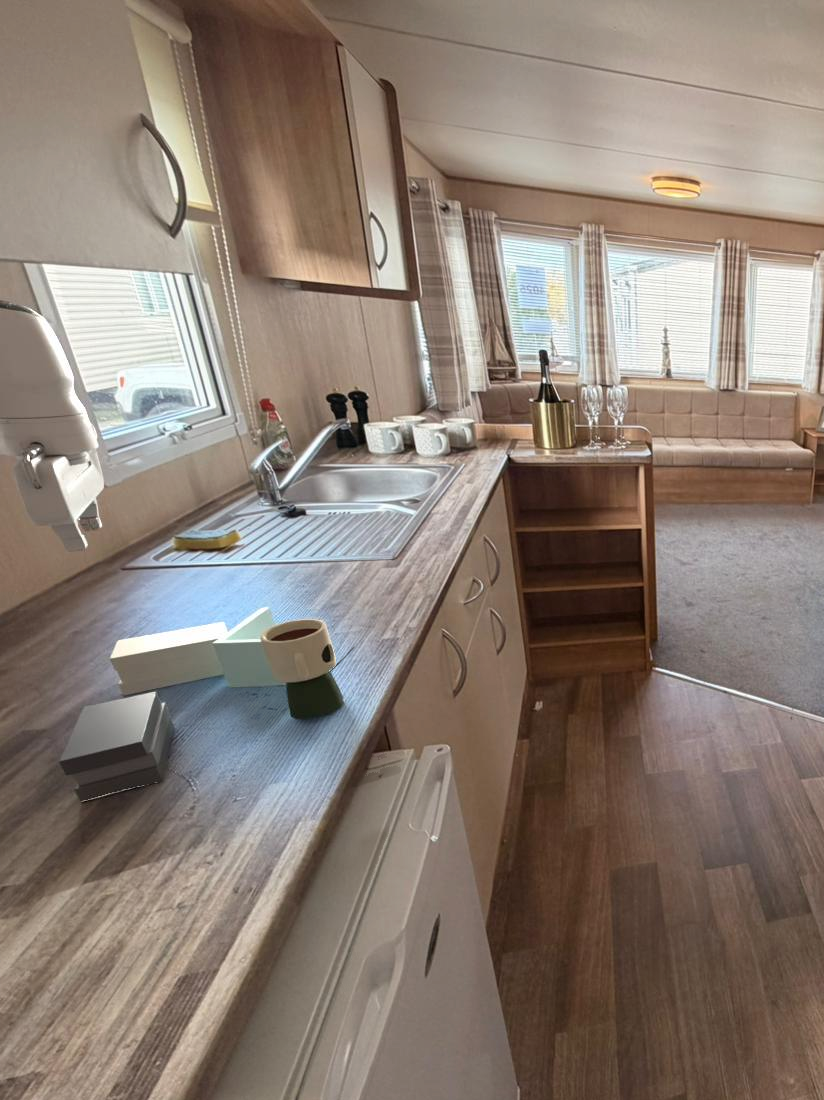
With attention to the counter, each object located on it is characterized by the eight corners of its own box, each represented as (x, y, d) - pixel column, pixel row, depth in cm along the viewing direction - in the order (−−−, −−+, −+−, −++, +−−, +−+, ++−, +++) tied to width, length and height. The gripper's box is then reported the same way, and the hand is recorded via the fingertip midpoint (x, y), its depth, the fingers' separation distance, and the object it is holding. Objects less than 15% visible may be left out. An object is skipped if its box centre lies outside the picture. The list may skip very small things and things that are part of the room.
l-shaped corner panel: (318, 684, 96) (305, 640, 93) (229, 687, 94) (212, 643, 91) (355, 645, 107) (344, 605, 104) (275, 648, 105) (262, 607, 102)
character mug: (352, 722, 88) (328, 639, 83) (288, 739, 84) (258, 653, 79) (345, 686, 96) (323, 609, 91) (286, 700, 92) (260, 620, 87)
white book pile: (123, 695, 91) (112, 671, 89) (130, 675, 96) (120, 652, 94) (235, 672, 98) (226, 649, 96) (237, 654, 103) (229, 632, 101)
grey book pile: (163, 781, 76) (144, 740, 74) (81, 804, 72) (58, 761, 70) (175, 727, 85) (159, 689, 83) (103, 744, 81) (83, 705, 79)
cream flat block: (228, 632, 101) (224, 621, 100) (225, 649, 96) (221, 637, 96) (122, 652, 94) (117, 640, 93) (115, 671, 90) (109, 658, 89)
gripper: (60, 450, 76) (103, 559, 81) (96, 423, 90) (130, 517, 96) (-21, 453, 72) (30, 567, 77) (30, 425, 87) (69, 522, 92)
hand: (86, 539), depth 87 cm, fingers open, 8 cm apart
